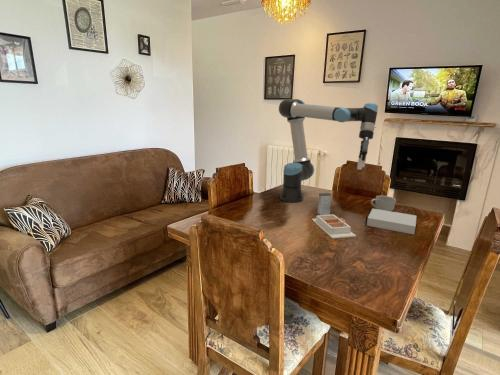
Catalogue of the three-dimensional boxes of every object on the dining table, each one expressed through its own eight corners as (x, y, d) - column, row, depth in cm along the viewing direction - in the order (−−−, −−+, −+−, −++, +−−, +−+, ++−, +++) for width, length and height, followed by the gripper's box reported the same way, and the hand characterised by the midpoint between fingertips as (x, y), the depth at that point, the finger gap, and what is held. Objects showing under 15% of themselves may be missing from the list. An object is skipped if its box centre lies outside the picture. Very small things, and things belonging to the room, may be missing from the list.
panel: (319, 215, 166) (321, 195, 163) (317, 213, 169) (319, 193, 166) (329, 214, 167) (331, 194, 164) (327, 212, 170) (328, 192, 167)
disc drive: (370, 215, 167) (371, 207, 166) (415, 223, 156) (416, 214, 155) (364, 226, 152) (365, 217, 151) (414, 235, 142) (415, 226, 140)
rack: (332, 238, 136) (333, 230, 135) (311, 219, 159) (312, 212, 158) (355, 236, 139) (356, 228, 138) (332, 218, 161) (332, 211, 160)
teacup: (390, 208, 179) (392, 195, 177) (397, 214, 168) (399, 201, 166) (366, 207, 180) (368, 194, 178) (371, 213, 170) (373, 200, 167)
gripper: (377, 126, 153) (370, 166, 153) (370, 136, 177) (364, 171, 177) (362, 125, 155) (355, 164, 155) (357, 135, 179) (351, 169, 179)
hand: (360, 168), depth 166 cm, fingers open, 13 cm apart
